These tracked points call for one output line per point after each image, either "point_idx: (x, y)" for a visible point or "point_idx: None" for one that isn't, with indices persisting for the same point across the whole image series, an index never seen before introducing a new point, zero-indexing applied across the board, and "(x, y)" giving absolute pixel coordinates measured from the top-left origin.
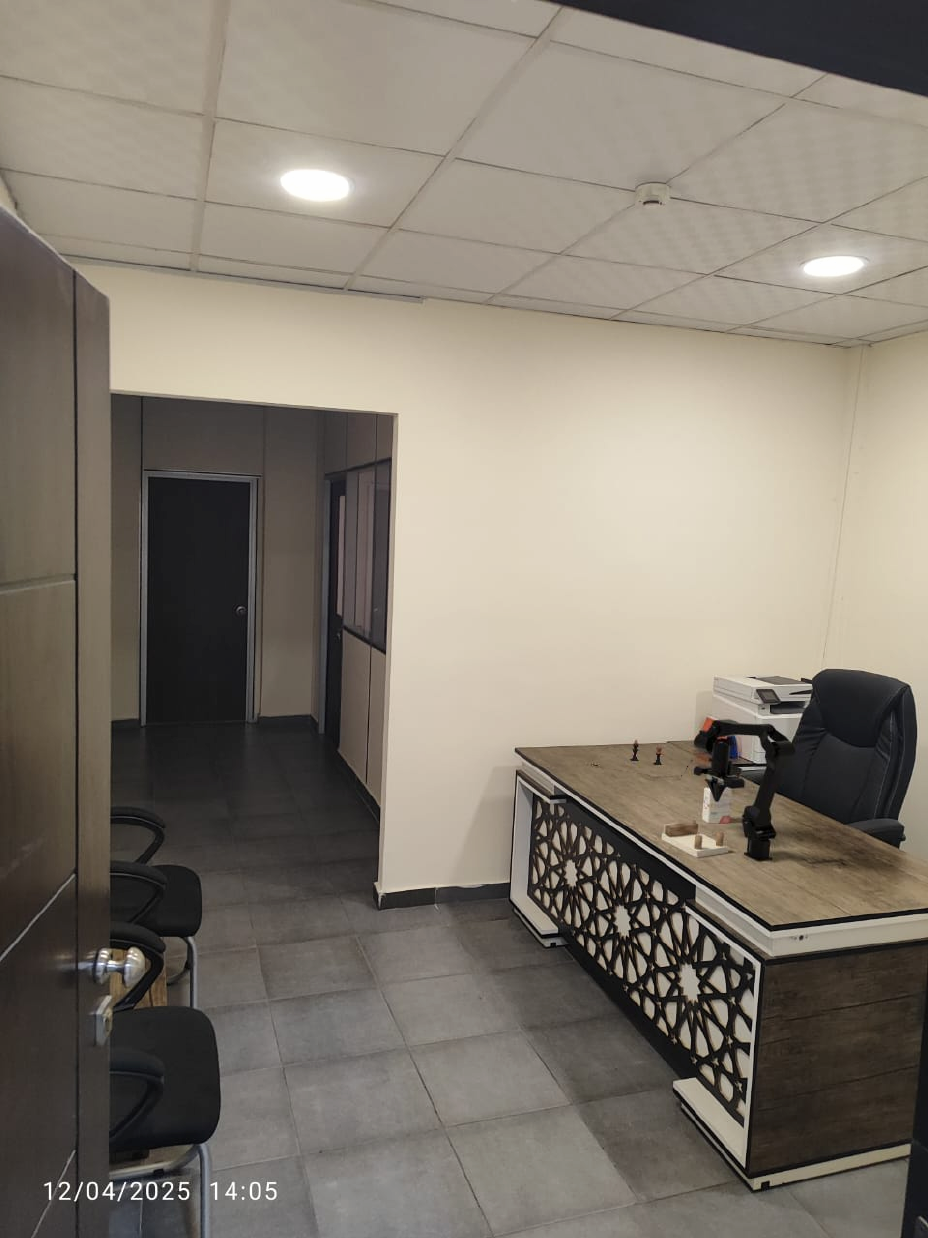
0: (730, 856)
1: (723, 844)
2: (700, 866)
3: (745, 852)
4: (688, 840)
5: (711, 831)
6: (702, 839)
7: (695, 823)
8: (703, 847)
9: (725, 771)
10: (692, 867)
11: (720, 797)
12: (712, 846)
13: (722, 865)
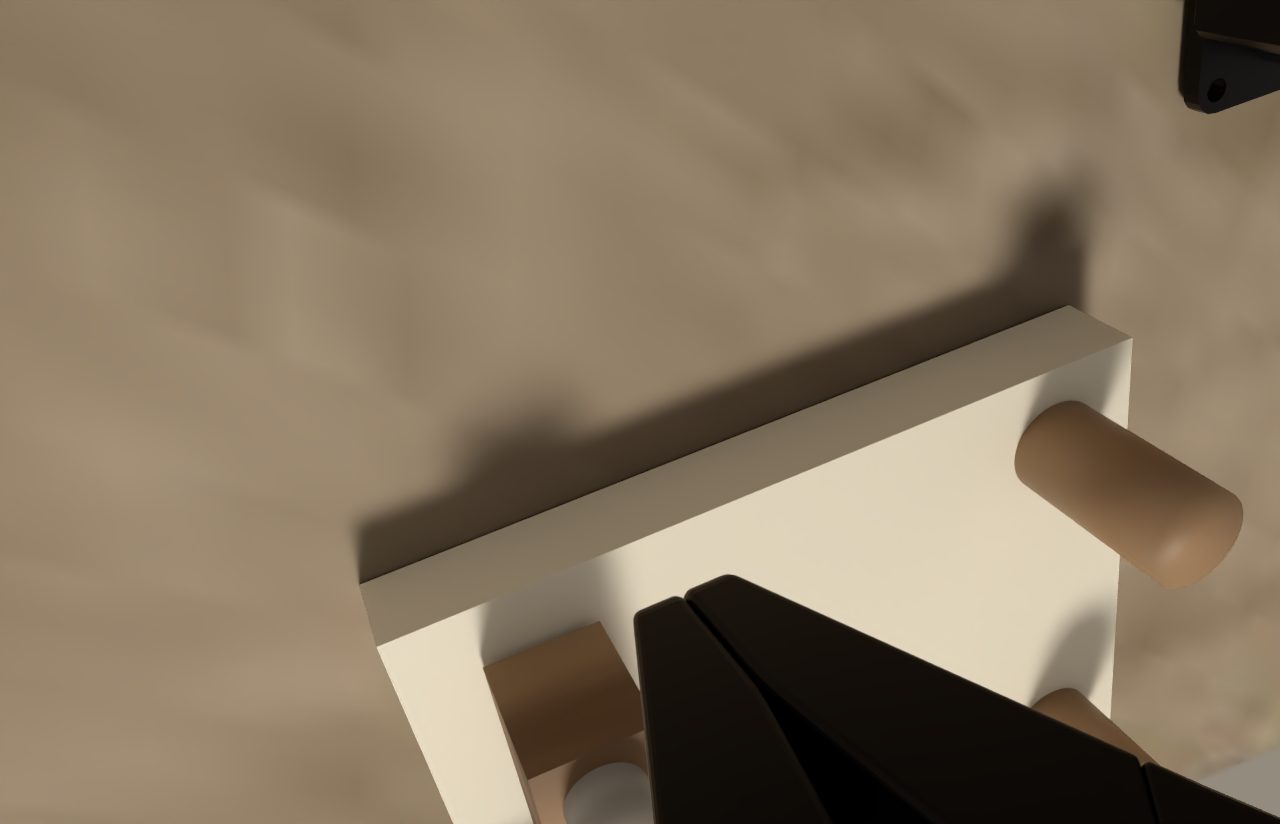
0: (1155, 321)
1: (1054, 376)
2: (1209, 703)
3: (1207, 78)
4: None
5: (88, 120)
6: (827, 604)
7: (602, 759)
8: (1049, 658)
9: None
10: (1197, 766)
11: (893, 653)
12: (1058, 547)
13: (1276, 508)
